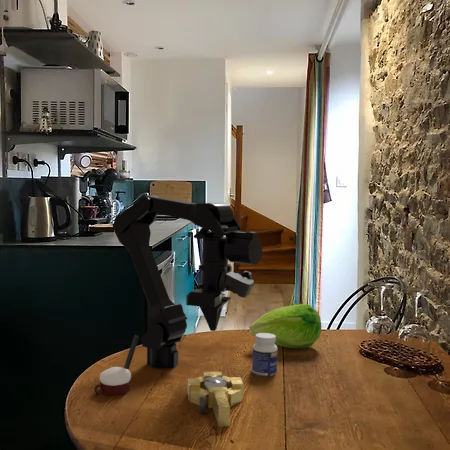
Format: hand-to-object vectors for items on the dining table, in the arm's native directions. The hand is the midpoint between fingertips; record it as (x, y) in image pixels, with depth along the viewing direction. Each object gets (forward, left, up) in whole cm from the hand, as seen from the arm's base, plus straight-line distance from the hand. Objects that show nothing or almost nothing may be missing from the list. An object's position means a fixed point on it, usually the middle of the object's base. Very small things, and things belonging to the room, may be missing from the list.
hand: (213, 330), depth 117 cm
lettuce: (+10, +32, -12) cm, 36 cm away
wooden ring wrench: (+6, -14, -11) cm, 18 cm away
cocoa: (-16, -14, -12) cm, 25 cm away
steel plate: (+4, -10, -12) cm, 16 cm away
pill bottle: (+10, +8, -12) cm, 18 cm away
